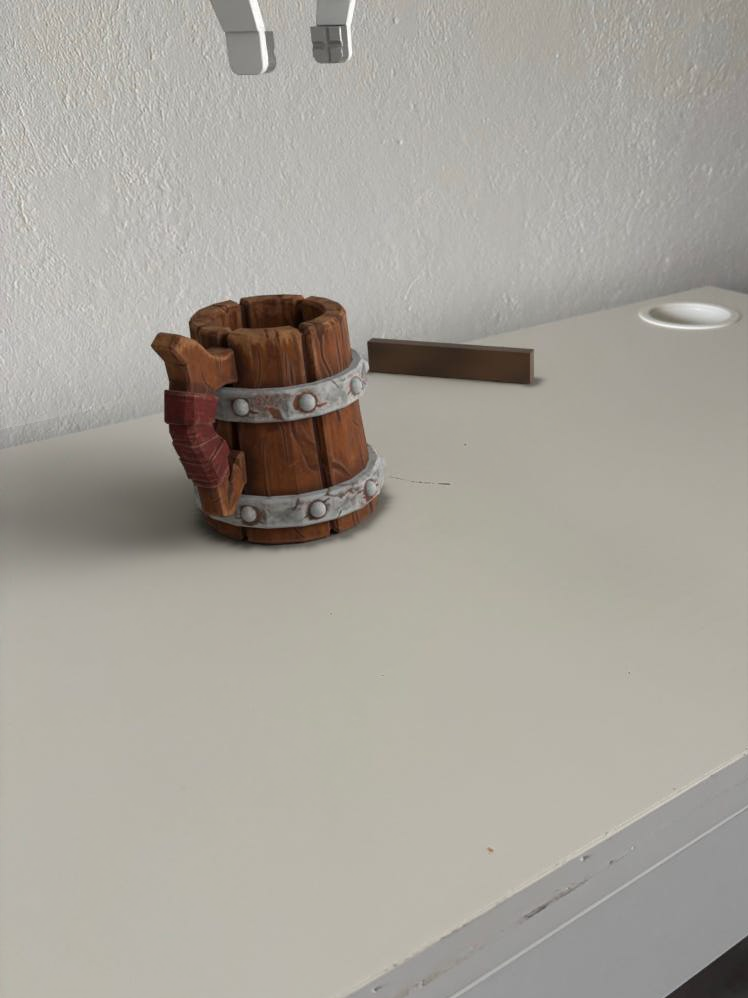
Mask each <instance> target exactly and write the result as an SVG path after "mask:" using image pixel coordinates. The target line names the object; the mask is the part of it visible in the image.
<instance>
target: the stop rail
mask: <svg viewBox="0 0 748 998" xmlns="http://www.w3.org/2000/svg"><path fill="white" fill-rule="evenodd" d="M366 347H367V362H368V365H369V370H368V372H372V373H373V372H374V373H387V374H399V375H411V376H412V375H413V376H427V377H436V378H437V377H438V378H448V379H449V378H450V379H464V380H477V381H489V382H499V383H500V382H502V383H513V384H526V385H530V384H531V383H532V382H533V381H534V380H535V348H527V347H511V346H496V345H483V344H469V343H468V344H466V343H452V342H437V341H423V340H410V339H395V338H394V339H393V338H380V337H371V338H369V340H367V341H366Z"/></svg>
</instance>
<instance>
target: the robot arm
mask: <svg viewBox="0 0 748 998" xmlns="http://www.w3.org/2000/svg"><path fill="white" fill-rule="evenodd" d="M209 2H210V4H211V7H212V9H213V11H214V13H215V16H216V18H217V20H218V23H219V24H220V27H221V30H222V31H223V33H224V35H225V42H226V51H227V56H228V65H229V67H230V70H231V72H232V73H233V74H235V75H237V76H260V75H267V74H271V73H273V72H274V71H275V69H276V67H277V57H276V55H275V48H276V47H275V37H274V31H273V30H267V31H266V27H265V23H264V20H263V16H262V13H261V10H260V9H261V8H260V5H259V2H258V0H209ZM356 2H357V0H316V13H315V14H316V16H315V25H314V26H309V30H310V39H311V44H312V48H311V49H312V50H311V51H312V57H313V59H314V61H315V62H316V63H318V64H342V63H343V64H344V63H348V62H350V60H352V57H353V42H352V26H351V25H353V24H352V23H353V19H354V11H355V8H356V7H355V6H356Z"/></svg>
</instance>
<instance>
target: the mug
mask: <svg viewBox="0 0 748 998" xmlns="http://www.w3.org/2000/svg"><path fill="white" fill-rule="evenodd" d="M188 329H189V337H188V336H185V335H181V334H179V333H171V332H170V333H169V332H162V331H160V332H158V333H156V334H155V337H154V339H153V340H152V342H151V344H150V348H151V349H152V350H153V351H154V352H155V353H156V354H157V356H158V357H159V358H160V360H162V361H163V363H164V368H165V370H166V374H167V380H168V389H164V390H163V406H164V407H163V422H164V423H165V424H167V425H168V433H169V435H170V438H171V440H172V442H171V445H172V447H173V448H174V451H175V453H176V454H177V456H178V461H179V462H180V464H181V465H182V467H183V470H184V473H185V474H186V477H187V479H188V480H191V482H192V486H193V495H194V497H193V500H194V503H195V506H196V507H197V508H198V509H200V510H201V511H202V513H204V514H205V519H206V523H207V524H209V525H210V526H211V527H213V528H214V529H215V530H216V531H217V532H218V533H219V534H221V535H223V536H226V537H230V538H231V539H235V540H238V541H242V540H243V539H244V538H246V537H247V541H248V542H249V543H256V544H267V545H282V544H297V543H307V542H312V541H316V540H321V539H325V538H328V537H329V536H330V535H331V530H332V531H334V532H335V533H337V534H341V533H343V532H345V531H347V530H350V529H352V528H354V527H357V526H358V525H360V523H361V524H362V522H364V520H366V519H367V518H368V517H369V516H371V514H372V513H373V512H374V511H375V508H376V506H377V503H378V501H379V499H378V495H380V493H381V490H382V487H383V485H384V482H385V475H384V469H385V468H386V465H387V462H386V459H385V458H384V457H383V456H382V455H379V454H378V451H377V450H376V447H374V446H373V445H371V444H369V443H367V438H366V433H365V428H364V423H363V418H362V412H361V407H360V398H362V397H363V395H364V393H365V392H366V390H367V387H368V385H369V381H368V376H367V374H368V372H369V361H368V360H366V359H364V358H363V357H362V355H361V354H360V352H359V351H358V350H356V349H355V348H352V347H351V341H350V332H349V326H348V318H347V310H346V309H345V308H344V306H343V305H342V304H341V303H340V302H338V301H336V300H332V299H330V298H327V297H324V296H323V297H322V296H316V295H310V296H308V297H304V295H303V294H293V293H292V294H289V293H288V294H287V293H281V294H278V293H277V294H261V295H253V296H252V295H251V296H245V297H244V296H243V297H240V299H239V303H238V302H236V301H234V300H232V299H228V300H224V301H220V302H216V303H211V304H210V305H207V306H205V307H202V308H200V309H198V310H197V311H196V312H195V313H193V315H192V316H191V317H190V318H189V321H188Z"/></svg>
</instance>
